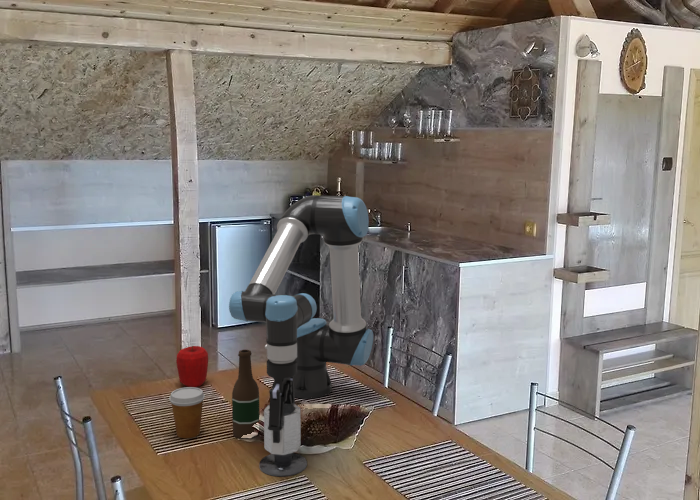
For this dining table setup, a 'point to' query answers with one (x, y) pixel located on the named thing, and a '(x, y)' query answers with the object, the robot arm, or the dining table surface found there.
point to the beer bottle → (245, 398)
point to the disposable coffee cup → (187, 411)
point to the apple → (192, 366)
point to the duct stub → (283, 464)
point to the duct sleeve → (285, 429)
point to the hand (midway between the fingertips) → (282, 445)
